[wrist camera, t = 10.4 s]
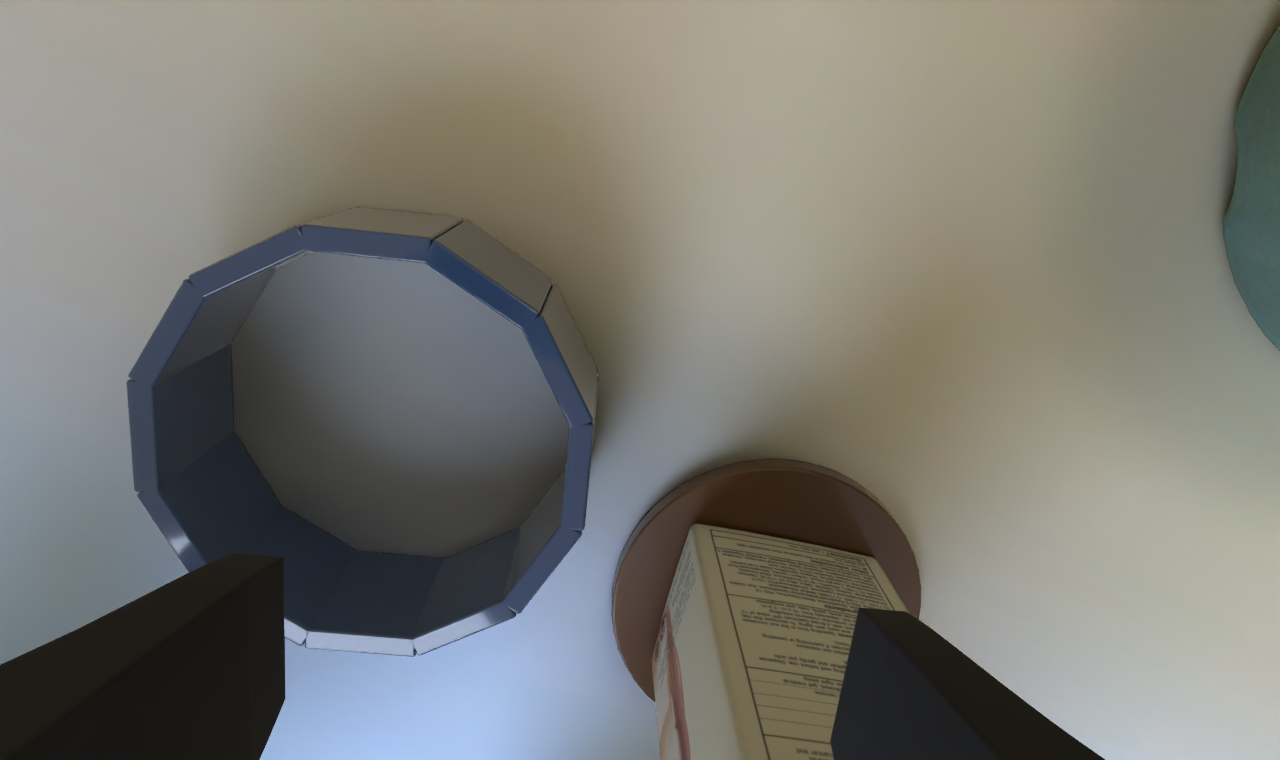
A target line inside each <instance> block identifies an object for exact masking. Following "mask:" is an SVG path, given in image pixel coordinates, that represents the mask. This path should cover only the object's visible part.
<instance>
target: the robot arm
mask: <svg viewBox="0 0 1280 760" xmlns="http://www.w3.org/2000/svg"><path fill="white" fill-rule="evenodd" d="M284 700H285V637H284V557H276V556H264V555H253V554H242V553H231V554H229V555H226V556H224V557H221V558H219V559H217V560H215V561H212V562H210V563H208V564H206V565H204V566H202V567H200V568H198V569H196V570H194V571H192V572H190V573H188V574H185V575H184V576H182V577H180V578H178V579H176V580H174V581H172V582H170V583H168V584H166V585H164V586H162V587H160V588H158V589H156V590H154V591H152V592H150V593H148V594H146V595H144V596H142V597H140V598H138V599H136V600H134V601H132V602H130V603H128V604H126V605H125V606H123V607H121V608H119V609H117V610H115V611H113V612H111V613H109V614H107V615H105V616H103V617H101V618H99V619H97V620H95V621H93V622H91V623H89V624H87V625H85V626H83V627H81V628H79V629H77V630H75V631H73V632H70V633H68V634H66V635H64V636H62V637H60V638H58V639H55V640H53V641H51V642H49V643H47V644H45V645H42V646H40V647H38V648H36V649H34V650H32V651H29V652H27V653H25V654H23V655H21V656H19V657H16V658H14V659H12V660H10V661H8V662H6V663H4V664H1V665H0V760H259V759H260V757H261V755H262V752H263V750H264V748H265V746H266V743H267V741H268V739H269V736H270V734H271V732H272V729H273V727H274V724H275V722H276V719H277V717H278V715H279V712H280V710H281V707H282V705H283V703H284ZM830 743H831V748H832V753H833V758H834V760H1105V759H1104V758H1102V757H1101V756H1099V755H1098V754H1096V753H1095V752H1093V751H1092V750H1091V749H1089V748H1088V747H1086V746H1085V745H1083V744H1082V743H1081V742H1079V741H1078V740H1076V739H1075V738H1073V737H1072V736H1071V735H1069V734H1068V733H1067V732H1065V731H1064V730H1062V729H1061V728H1060V727H1058V726H1057V725H1056V724H1054V723H1053V722H1052V721H1050V720H1049V719H1048V718H1046V717H1045V716H1043V715H1042V714H1041V713H1039V712H1038V711H1037V710H1035V709H1034V708H1033V707H1032V706H1030V705H1029V704H1028V703H1026V702H1025V701H1024V700H1022V699H1021V698H1020V697H1018V696H1017V695H1016V694H1015V693H1013V692H1012V691H1011V690H1009V689H1008V688H1007V687H1005V686H1004V685H1003V684H1002V683H1000V682H999V681H998V680H996V679H995V678H994V677H993V676H991V675H990V674H989V673H987V672H986V671H985V670H984V669H982V668H981V667H980V666H979V665H977V664H976V663H975V662H973V661H972V660H971V659H970V658H968V657H967V656H966V655H965V654H963V653H962V652H961V651H959V650H958V649H957V648H956V647H954V646H953V645H952V644H951V643H949V642H948V641H947V640H945V639H944V638H943V637H941V636H940V635H939V634H937V633H936V632H935V631H933V630H932V629H931V628H929V627H928V626H927V625H925V624H924V623H922V622H921V621H920V620H918V619H917V618H915V617H914V616H912V615H911V614H909V613H907V612H906V611H894V610H883V609H872V608H860V607H859V609H858V614H857V619H856V623H855V628H854V632H853V637H852V642H851V646H850V651H849V656H848V660H847V665H846V670H845V674H844V679H843V684H842V688H841V693H840V697H839V702H838V707H837V711H836V716H835V721H834V725H833V730H832V735H831V739H830Z"/></svg>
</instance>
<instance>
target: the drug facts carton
mask: <svg viewBox="0 0 1280 760" xmlns="http://www.w3.org/2000/svg"><path fill="white" fill-rule="evenodd" d="M859 607H860V608H872V609H883V610H894V611H906V612H907V613H909V612H908V611H907V609H906V607H905V605H904V604H903V602H902V601H901V599H900V598H899V596H898V594H897V593H896V591H895V589H894V588H893V586H892V584H891V583H890V581H889V579H888V577H887V576H886V574H885V572H884V571H883V569H882V568H881V566H880V565H879V563H878V562H877V561H876V559H874V558H872V557H870V556H865V555H860V554H855V553H851V552H846V551H841V550H837V549H833V548H828V547H823V546H819V545H814V544H808V543H803V542H798V541H793V540H788V539H783V538H778V537H772V536H767V535H761V534H756V533H751V532H746V531H740V530H733V529H727V528H721V527H715V526H709V525H702V524H694V525H692V526H691V528H690V530H689V533H688V536H687V539H686V542H685V545H684V548H683V551H682V554H681V557H680V560H679V563H678V566H677V569H676V573H675V576H674V579H673V582H672V585H671V589H670V592H669V595H668V599H667V602H666V606H665V609H664V612H663V616H662V619H661V623H660V627H659V631H658V635H657V639H656V643H655V647H654V651H653V656H652V672H653V683H654V694H655V704H656V715H657V726H658V738H659V746H660V755H661V760H834V758H833V753H832V748H831V743H830V739H831V735H832V730H833V725H834V721H835V716H836V711H837V707H838V702H839V697H840V693H841V688H842V684H843V679H844V674H845V670H846V665H847V660H848V656H849V651H850V646H851V642H852V637H853V632H854V628H855V623H856V619H857V614H858V609H859Z"/></svg>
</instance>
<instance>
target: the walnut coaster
mask: <svg viewBox="0 0 1280 760" xmlns="http://www.w3.org/2000/svg"><path fill="white" fill-rule="evenodd" d="M694 524H702V525H709V526H715V527H721V528H727V529H733V530H740V531H746V532H751V533H756V534H761V535H767V536H772V537H778V538H783V539H788V540H793V541H798V542H803V543H808V544H814V545H819V546H823V547H828V548H833V549H837V550H841V551H846V552H851V553H855V554H860V555H865V556H870V557H872V558H874V559H876V561H877V562H878V563H879V565H880V566H881V568H882V569H883V571H884V572H885V574H886V576H887V577H888V579H889V581H890V583H891V584H892V586H893V588H894V589H895V591H896V593H897V594H898V596H899V598H900V599H901V601H902V602H903V604H904V605H905V607H906V609H907V611H908V612H909V614H911V615H912V616H914V617H915V618H917V619H918V620H919V613H920V607H921V583H920V576H919V569H918V566H917V562H916V559H915V556H914V552H913V550H912V548H911V546H910V544H909V542H908V540H907V538H906V536H905V534H904V533H903V531H902V530H901V528H900V527H899V525H898V524H897V522H896V521H895V519H894V518H893V516H892V515H891V514H890V512H889V511H888V510H887V509H886V508H885V507H884V506H883V505H882V504H881V502H880V501H879V500H878V499H877V498H876V497H874V496H873V495H872V494H871V493H869V492H868V491H867V490H866V489H865V488H863V487H862V486H860V485H859V484H857V483H855V482H854V481H852V480H850V479H849V478H847V477H845V476H843V475H841V474H838V473H836V472H834V471H832V470H829V469H826V468H823V467H820V466H816V465H813V464H809V463H804V462H797V461H791V460H770V459H766V460H755V461H745V462H740V463H736V464H731V465H726V466H723V467H720V468H717V469H714V470H712V471H709V472H706V473H704V474H702V475H700V476H698V477H696V478H693V479H691V480H689V481H687V482H686V483H684V484H683V485H681V486H680V487H678V488H677V489H675V490H673V491H672V492H670V493H669V494H668V495H667V496H666V497H664V498H663V499H662V500H661V501H660V502H658V503H657V504H656V505H655V506H654V507H653V508H652V509H651V510H650V511H649V512H648V513H647V515H646V516H645V517H644V518H643V519H642V520H641V521H640V523H639V524H638V526H637V527H636V529H635V530H634V531H633V533H632V534H631V536H630V538H629V540H628V542H627V544H626V545H625V547H624V549H623V551H622V554H621V557H620V559H619V562H618V565H617V568H616V572H615V577H614V583H613V590H612V622H613V631H614V635H615V639H616V643H617V647H618V650H619V652H620V654H621V657H622V659H623V661H624V664H625V666H626V667H627V669H628V671H629V672H630V674H631V675H632V677H633V679H634V680H635V681H636V683H637V684H638V685H639V686H640V687H641V689H642V690H643V691H644V692H645V693H646V695H647V696H649V697H650V698H651V699H652V700H653V701H654V702H655V694H654V683H653V672H652V656H653V651H654V647H655V643H656V639H657V635H658V631H659V627H660V623H661V619H662V616H663V612H664V609H665V606H666V602H667V599H668V595H669V592H670V589H671V585H672V582H673V579H674V576H675V573H676V569H677V566H678V563H679V560H680V557H681V554H682V551H683V548H684V545H685V542H686V539H687V536H688V533H689V530H690V528H691V526H692V525H694Z"/></svg>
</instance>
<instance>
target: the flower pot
mask: <svg viewBox="0 0 1280 760" xmlns="http://www.w3.org/2000/svg"><path fill="white" fill-rule="evenodd" d="M1234 129H1235V132H1236V136H1237V141H1238V162H1237V172H1236V179H1235V185H1234V191H1233V196H1232V200H1231V203H1230V206H1229V209H1228V211H1227V213H1226V215H1225V217H1224V219H1223V221H1222V224H1223V235H1224V241H1225V247H1226V252H1227V258H1228V261H1229V264H1230V268H1231V271H1232V274H1233V277H1234V281H1235V283H1236V286H1237V288H1238V290H1239V292H1240V294H1241V296H1242V298H1243V300H1244V302H1245V304H1246V306H1247V308H1248V310H1249V312H1250V314H1251V316H1252V317H1253V319H1254V320H1255V321H1256V323H1257V324H1258V326H1259V327H1260V329H1261V330H1262V332H1263V333H1264V334H1265V336H1266V337H1267V338H1268V339H1269V340H1270V341H1271V342H1272V343H1273V344H1274V345H1275V346H1276V347H1277V348H1278V349H1279V351H1280V25H1279V26H1278V28H1277V29H1276V31H1275V32H1274V34H1273V36H1272V37H1271V39H1270V41H1269V42H1268V44H1267V46H1266V47H1265V49H1264V51H1263V52H1262V54H1261V56H1260V58H1259V60H1258V63H1257V65H1256V67H1255V69H1254V71H1253V73H1252V75H1251V77H1250V80H1249V82H1248V84H1247V86H1246V89H1245V92H1244V94H1243V97H1242V99H1241V102H1240V104H1239V107H1238V110H1237V114H1236V117H1235V121H1234Z"/></svg>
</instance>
